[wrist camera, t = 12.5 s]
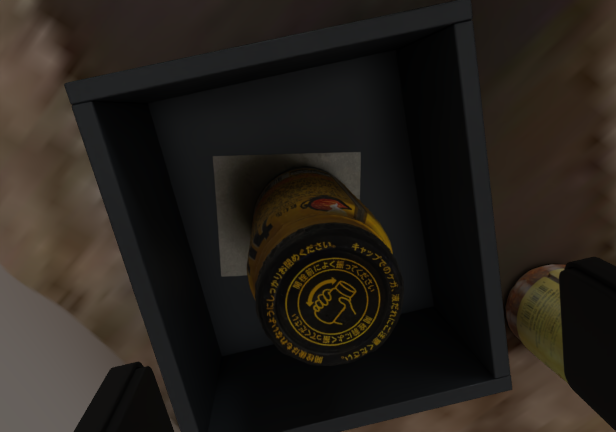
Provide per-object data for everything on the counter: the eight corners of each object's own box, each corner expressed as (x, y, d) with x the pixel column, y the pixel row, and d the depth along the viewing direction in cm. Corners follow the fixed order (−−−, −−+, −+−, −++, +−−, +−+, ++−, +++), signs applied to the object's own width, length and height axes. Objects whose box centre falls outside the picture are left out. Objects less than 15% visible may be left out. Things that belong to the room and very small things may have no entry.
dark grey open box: (133, 91, 25) (62, 83, 16) (402, 34, 25) (471, -4, 17) (214, 363, 29) (192, 468, 21) (442, 308, 30) (512, 390, 21)
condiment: (358, 268, 28) (424, 385, 16) (221, 275, 27) (186, 403, 15) (360, 151, 26) (435, 187, 14) (213, 155, 25) (166, 196, 14)
